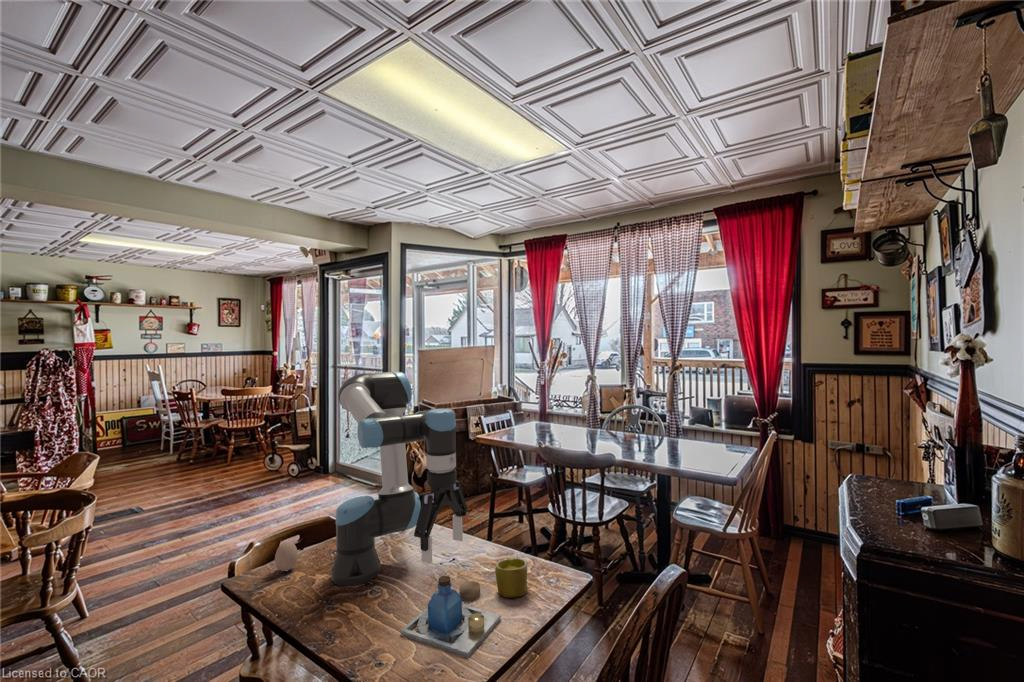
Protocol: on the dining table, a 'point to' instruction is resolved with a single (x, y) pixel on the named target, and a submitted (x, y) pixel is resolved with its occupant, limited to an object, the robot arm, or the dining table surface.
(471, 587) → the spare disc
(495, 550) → the dining table surface
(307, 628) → the dining table surface
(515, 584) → the mug
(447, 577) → the perfume bottle
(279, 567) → the egg
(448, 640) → the plate
